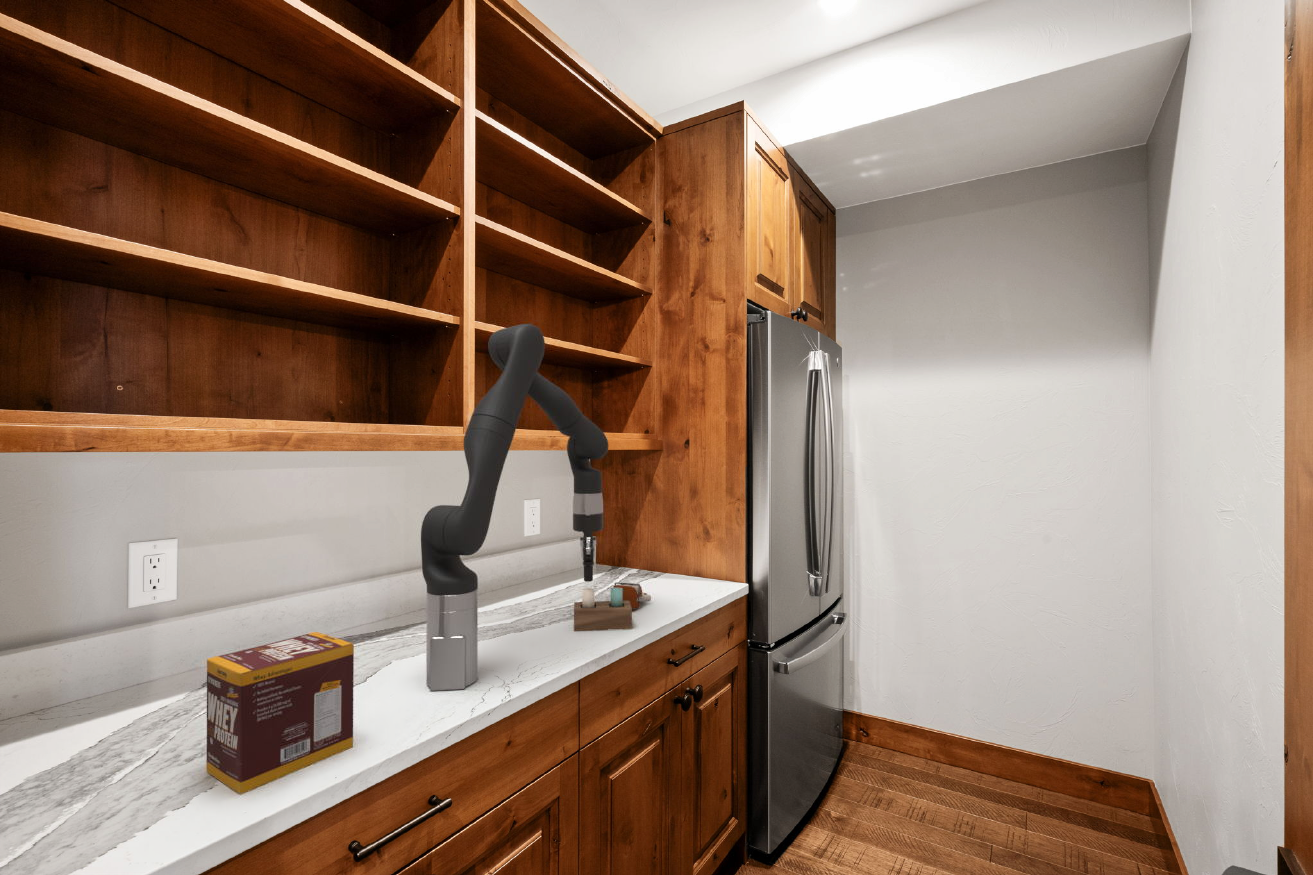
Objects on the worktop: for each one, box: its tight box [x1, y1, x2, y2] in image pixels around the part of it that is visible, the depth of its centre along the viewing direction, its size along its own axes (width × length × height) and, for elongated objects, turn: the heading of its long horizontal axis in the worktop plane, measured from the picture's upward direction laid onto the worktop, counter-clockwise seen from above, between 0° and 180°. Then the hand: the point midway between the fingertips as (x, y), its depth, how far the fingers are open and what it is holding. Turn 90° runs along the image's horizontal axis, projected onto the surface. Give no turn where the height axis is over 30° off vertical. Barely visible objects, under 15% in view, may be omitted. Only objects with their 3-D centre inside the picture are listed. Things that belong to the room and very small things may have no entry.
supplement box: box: [205, 631, 355, 795], centre depth 88 cm, size 10×15×16 cm
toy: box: [612, 582, 652, 611], centre depth 173 cm, size 9×7×15 cm
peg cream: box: [581, 587, 595, 608], centre depth 152 cm, size 3×3×5 cm
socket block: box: [573, 600, 633, 632], centre depth 153 cm, size 8×14×5 cm, turn 97°
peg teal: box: [610, 587, 623, 607], centre depth 153 cm, size 3×3×5 cm
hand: (588, 580), depth 153 cm, fingers closed
